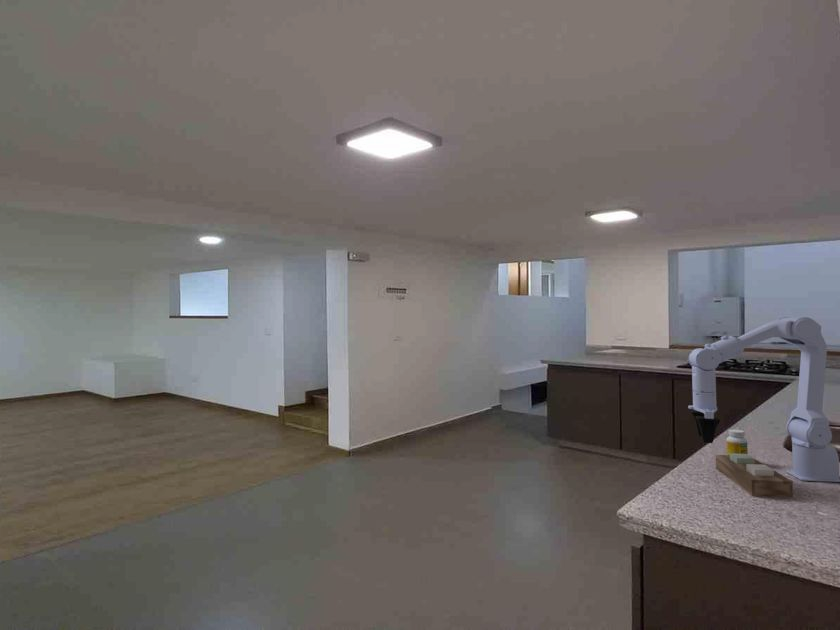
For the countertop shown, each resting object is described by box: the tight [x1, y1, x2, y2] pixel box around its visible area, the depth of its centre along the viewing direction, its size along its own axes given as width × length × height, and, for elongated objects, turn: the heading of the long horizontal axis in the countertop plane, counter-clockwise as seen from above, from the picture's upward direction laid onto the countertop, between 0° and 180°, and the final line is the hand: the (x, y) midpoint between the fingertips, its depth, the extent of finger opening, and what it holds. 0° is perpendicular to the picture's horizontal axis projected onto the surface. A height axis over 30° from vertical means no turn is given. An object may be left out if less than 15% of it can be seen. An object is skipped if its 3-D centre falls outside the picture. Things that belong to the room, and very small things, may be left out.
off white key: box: [746, 464, 775, 476], centre depth 125 cm, size 4×4×3 cm
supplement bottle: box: [725, 429, 749, 455], centre depth 147 cm, size 5×5×10 cm
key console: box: [715, 454, 794, 499], centre depth 130 cm, size 9×22×4 cm, turn 169°
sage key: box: [730, 453, 756, 464], centre depth 135 cm, size 4×4×3 cm
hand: (705, 439), depth 136 cm, fingers open, 7 cm apart
